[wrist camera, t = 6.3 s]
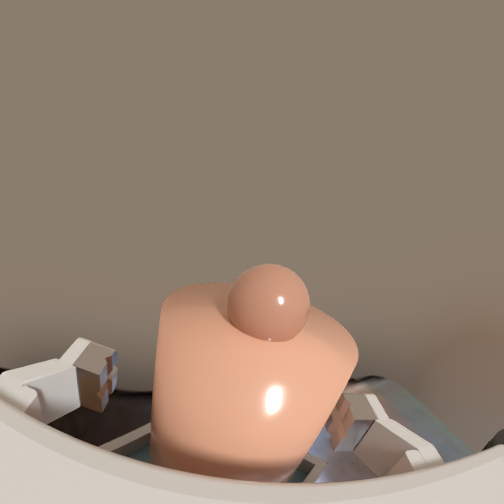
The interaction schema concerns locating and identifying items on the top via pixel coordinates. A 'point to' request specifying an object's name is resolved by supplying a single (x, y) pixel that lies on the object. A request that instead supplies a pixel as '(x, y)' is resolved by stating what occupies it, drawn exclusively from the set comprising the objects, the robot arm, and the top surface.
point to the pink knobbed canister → (245, 376)
